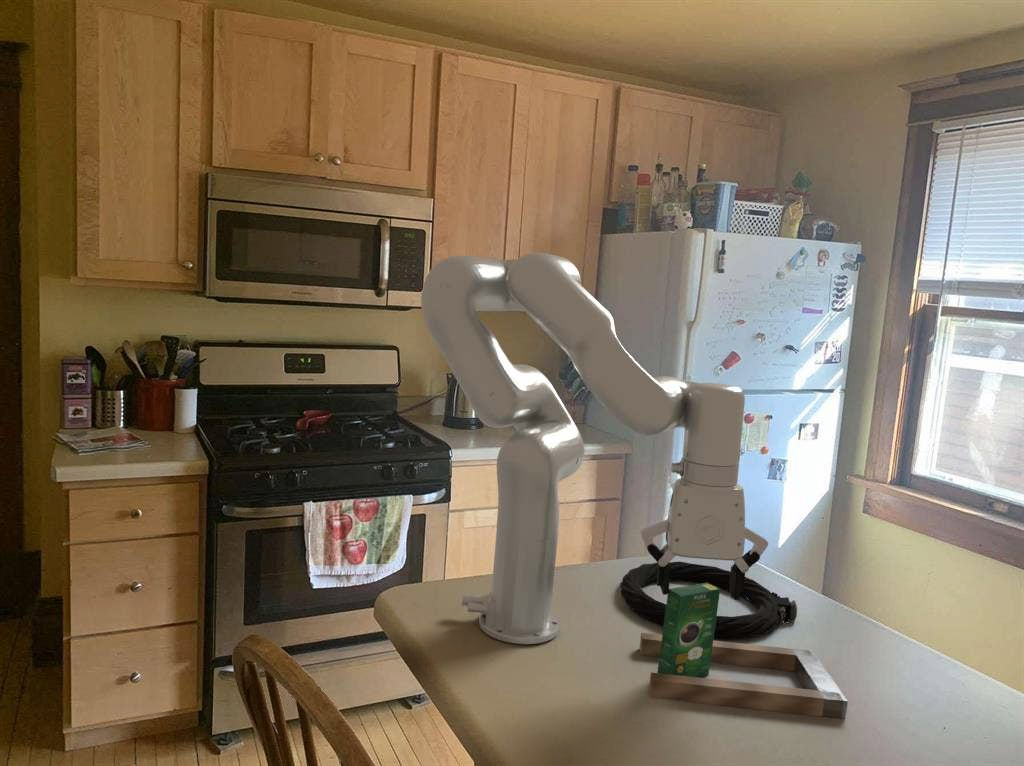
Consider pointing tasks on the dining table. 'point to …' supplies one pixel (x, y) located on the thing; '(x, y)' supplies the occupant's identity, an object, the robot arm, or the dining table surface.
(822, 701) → the frame
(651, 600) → the cable lock
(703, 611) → the coffee box
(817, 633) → the dining table surface
